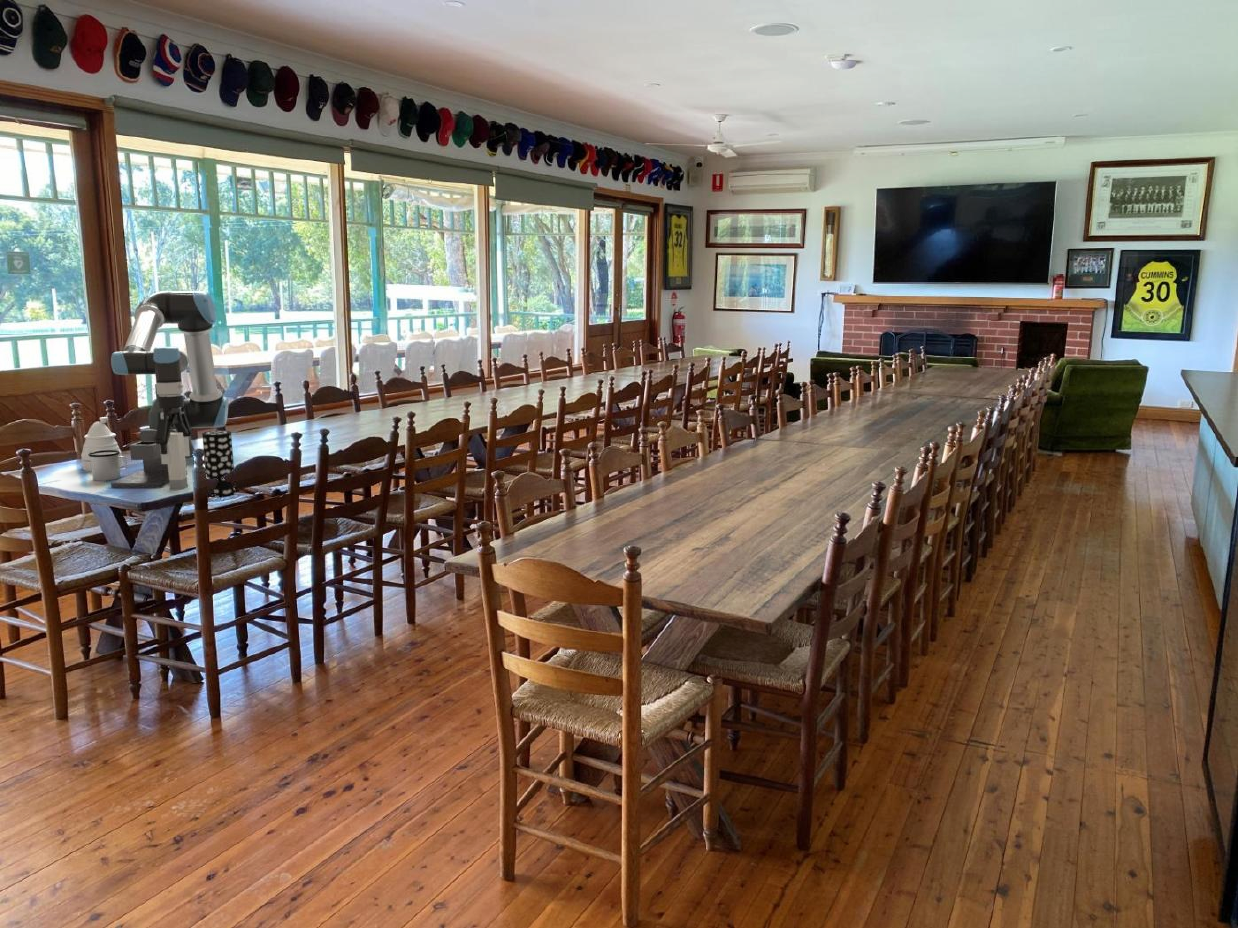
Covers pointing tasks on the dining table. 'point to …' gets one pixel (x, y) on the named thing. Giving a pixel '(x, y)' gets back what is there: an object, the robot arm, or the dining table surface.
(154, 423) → the bottle
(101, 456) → the mug
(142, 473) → the coffee machine
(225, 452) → the black dotted tall container
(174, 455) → the tall white block
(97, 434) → the honey pot
